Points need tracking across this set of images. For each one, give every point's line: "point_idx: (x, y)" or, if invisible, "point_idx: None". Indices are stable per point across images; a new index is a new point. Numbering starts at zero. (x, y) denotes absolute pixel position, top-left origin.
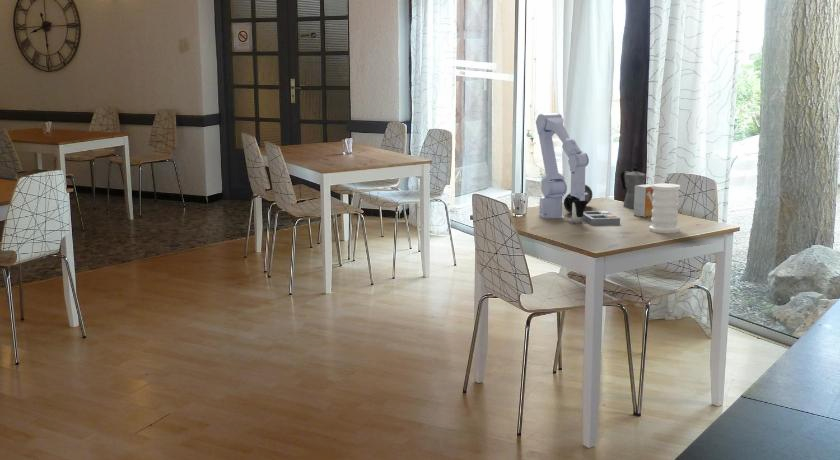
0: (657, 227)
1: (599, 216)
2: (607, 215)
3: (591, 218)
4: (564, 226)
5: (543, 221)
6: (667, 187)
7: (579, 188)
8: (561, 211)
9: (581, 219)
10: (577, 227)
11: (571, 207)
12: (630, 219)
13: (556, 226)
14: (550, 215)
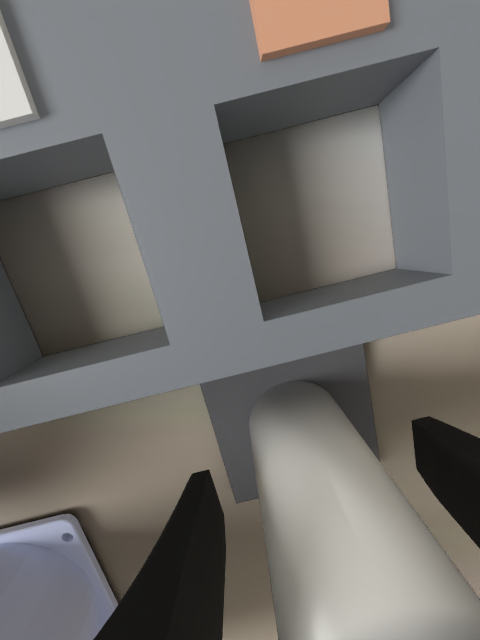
0: None
1: (231, 183)
2: (292, 36)
3: (464, 306)
4: (423, 500)
5: (227, 630)
6: None
7: None
8: (7, 603)
9: (326, 399)
10: (472, 410)
11: (221, 621)
12: None
13: None
14: (91, 634)
